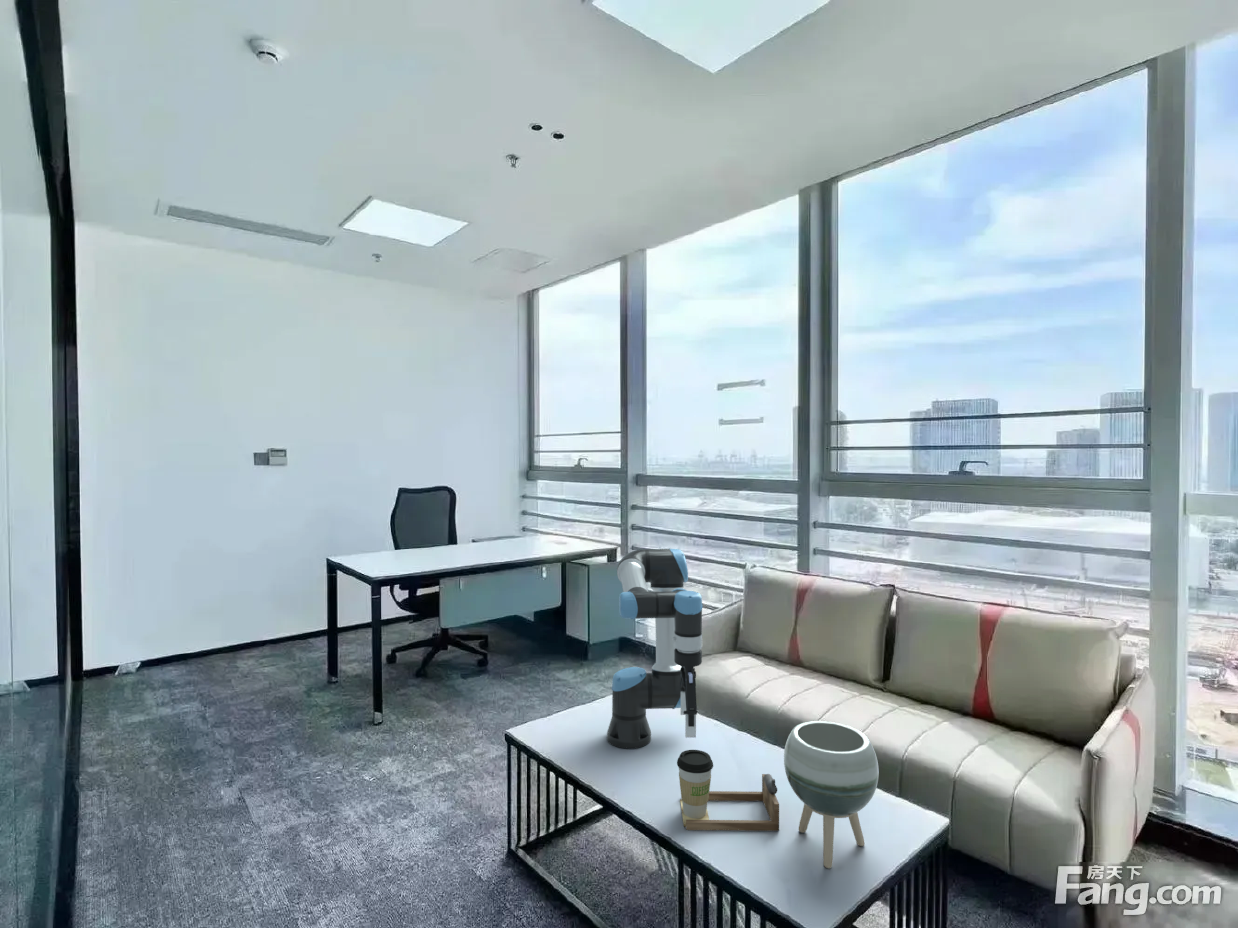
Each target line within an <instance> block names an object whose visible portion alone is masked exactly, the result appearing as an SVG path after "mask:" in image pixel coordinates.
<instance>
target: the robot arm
mask: <svg viewBox="0 0 1238 928" xmlns="http://www.w3.org/2000/svg"><path fill="white" fill-rule="evenodd" d="M688 570H689V569H688V564H687V560H686V556H685V554H684V552H683V551H682V550H681V549H679V548H671V547H670V548H648V549H647V548H641V549H635V550H632V551H630V552H628V553H627V554H625V555H624V556H623V557H622V558H621V559H620V560H619V562H618V564H617V566H616V575H617V578H618V580H619V582H620V583H621V587H622V592H621V593H619V595H618V596H619V598H618V605H619V606H618V609H619V616H620V618H622V619H630V620H635V619H636V620H637V619H638V620H639V619H640V620H641V619H655V662H654V664H653V665H652V666H651V672H647V670H646V669H645V668H643V667H638V666H630V667H624V668H621V669H619V670H618V671H616V672H615V673H614V674H613V676H612V680H611V681H612V683H611V692H612V693H611V694H612V696H611V697H612V698H611V699H612V703H611V704H612V705H611V708H612V709H611V713H612V714H611V719H610V720H609V721H610V723H609V725H608V728H607V732H606V740H607V742H608V743H609V744H610V745H612V746H613V747H616V748H621V749H626V750H628V749H629V750H630V749H639V748H643V747H645V746H647V745H649V743H650V742H651V741H652V731H651V727H650V725H649V721H648V718H647V710H654V709H655V710H659V709H660V710H661V709H666V710H667V709H672V710H675V709H680V715H681V716H685V717H684V718H685V726H684V727H685V731H684V732H685V733H684V734H685V738H686V739H687V738H689V739H690V738H695V739H696V738H697V715H698V708H697V688H696V686H697V683H696V680H697V679H696V677H697V671H696V669H695V667H699V666H701V664H702V662H703V651H702V648H703V631H702V629H703V628H702V627H703V624H702V623H703V622H702V621H703V607H704V605H703V601H702V599H703V597H702V594H701V593H699V592H696V591H695V590H687V589H685V588H684V583H687V582H688V581H689V571H688ZM647 583H650V589H651V590H652V591H649V589H648V585H647Z"/></svg>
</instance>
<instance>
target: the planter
mask: <svg viewBox="0 0 1238 928" xmlns="http://www.w3.org/2000/svg"><path fill="white" fill-rule="evenodd" d="M783 752H784V753H783V765H784V766H783V767H784V771H785V775H786V779H787V780H788V783H789V786H790V787H791V789H792V791H793V792H794V794H795V795H796V797H798V799H799V800H800V801H801V802H802V803H803V808H802V812H801V817H800V819H799V826H798V832H800V833H801V834H803V833H806V832H807V829H808V826H809V824H810V820H811V818H812V815H813V813H816V814H817V815H821V816H822V826H823V827H822V830H823V833H822V834H823V837H822V838H823V839H822V841H823V842H822V846H823V847H822V849H823V850H822V851H823V852H822V853H823V857H822V858H823V859H822V860H823V862H822V864H823V867H824V868H826V869H831V868H832V867H833V858H834V857H833V856H834V838H835V836H834V835H835V819H846V818H848V820H849V823H850V826H851V829H852V832H853V835H854V839H855V842H856V844H857V845H858V846H859V847H864V846H865V845H866V844H865V837H864V833H863V831H862V826H861V822H860V818H859V814H858V813H859V812H860V811H861V810H863V809H864V808H865V807H866V806H868V804H869V803H870V801H871V800H872V799H873V798H874V795H875V792H876V791H877V786H878V782H879V776H880V775H879V774H880V773H879V763H878V762H879V761H878V757H877V754H876V751H875V749H874V746H873V744H872V743H871V741H870V739H869V737H868V736H867V735H866V734H865V733H863V732H862V731H860V730H858V729H857V728H855V727H853V726H851V725H847V724H844V723H840V722H835V721H828V720H812V721H811V720H810V721H804V722H802V723H798V724H797V725H795V726H794V727H793V728H792V730H791V731H790V733H789V734H788V737H787V740H786V742H785V746H784V751H783Z"/></svg>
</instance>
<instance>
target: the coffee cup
mask: <svg viewBox="0 0 1238 928" xmlns="http://www.w3.org/2000/svg"><path fill="white" fill-rule="evenodd" d="M676 765H677V767H678V779H679V787H680V797H681V799H682V803H683V812H684V814H685V815H686V816H688V817H690V818H702V817H704V816H705V815H706V810H707V811H708V803H709V801H708V798H709V791H711V789H710V788H711V781H712V770H713V767H714V761H713V760H712V758H711V755H710V754H708V752H706V751H703V750H701V749H700V750H699V749H686V750H684V751H682V752H681V753H680V754H679V756H678V758H677V759H676Z"/></svg>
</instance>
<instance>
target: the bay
mask: <svg viewBox="0 0 1238 928" xmlns="http://www.w3.org/2000/svg"><path fill="white" fill-rule="evenodd" d="M776 793H778V788H777V785H776V779H775V778H773V776H772V774H769V773H766V774H765V773H762V774H761V791H741V790H740V791H735V790H733V791H730V790H729V791H727V790H726V791H723V790H722V791H720V790H718V791H717V790H715V791H714V790H713V791H712V790H709V798H708V802H709V801H712V802H713V801H714V802H715V801H717V802H718V801H721V802H722V801H723V802H725V801H726V802H730V801H731V802H732V801H733V802H763V805H764V807H765V810H766V812H767V815H768V818H769V820H761V819H760V820H759V819H752V820H751V819H748V820H747V819H734V820H733V819H710V816H709V811H708V809H707V810H706V815H705V816H704V817H702V818H690V817H688V816H686V815H685V814H684V812H683V803H682V798H681V799H680V800H679V802H680V809H681V817H682V824H683V827H684V828H685V829H686V830H685V831H745V832H746V831H748V832H749V831H754V832H755V831H756V832H757V831H758V832H769V831H770V832H779V831H780V803H779V800H778V799H777V796H776Z"/></svg>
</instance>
